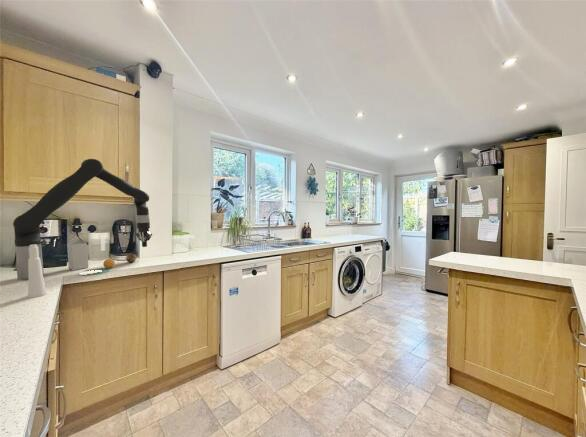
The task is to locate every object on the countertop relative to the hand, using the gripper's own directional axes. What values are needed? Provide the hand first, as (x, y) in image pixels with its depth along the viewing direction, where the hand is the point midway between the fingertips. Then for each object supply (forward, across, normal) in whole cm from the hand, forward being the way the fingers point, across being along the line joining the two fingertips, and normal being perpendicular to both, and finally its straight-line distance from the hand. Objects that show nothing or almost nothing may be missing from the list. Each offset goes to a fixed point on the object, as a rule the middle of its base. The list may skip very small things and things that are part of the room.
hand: (144, 246), depth 171 cm
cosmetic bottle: (+8, +13, -64) cm, 65 cm away
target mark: (+8, 0, -32) cm, 33 cm away
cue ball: (+6, 0, -10) cm, 12 cm away
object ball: (+5, 0, -24) cm, 25 cm away
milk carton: (+8, -17, -31) cm, 36 cm away
